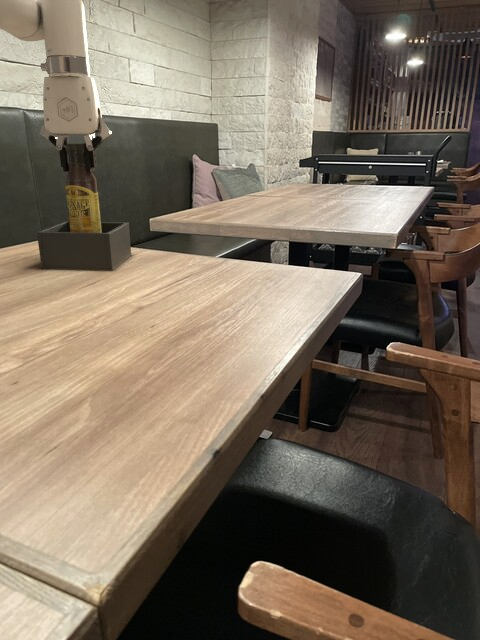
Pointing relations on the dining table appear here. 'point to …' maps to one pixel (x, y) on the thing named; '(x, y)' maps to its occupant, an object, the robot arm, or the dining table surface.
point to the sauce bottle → (81, 192)
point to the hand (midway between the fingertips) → (79, 170)
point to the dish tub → (84, 247)
